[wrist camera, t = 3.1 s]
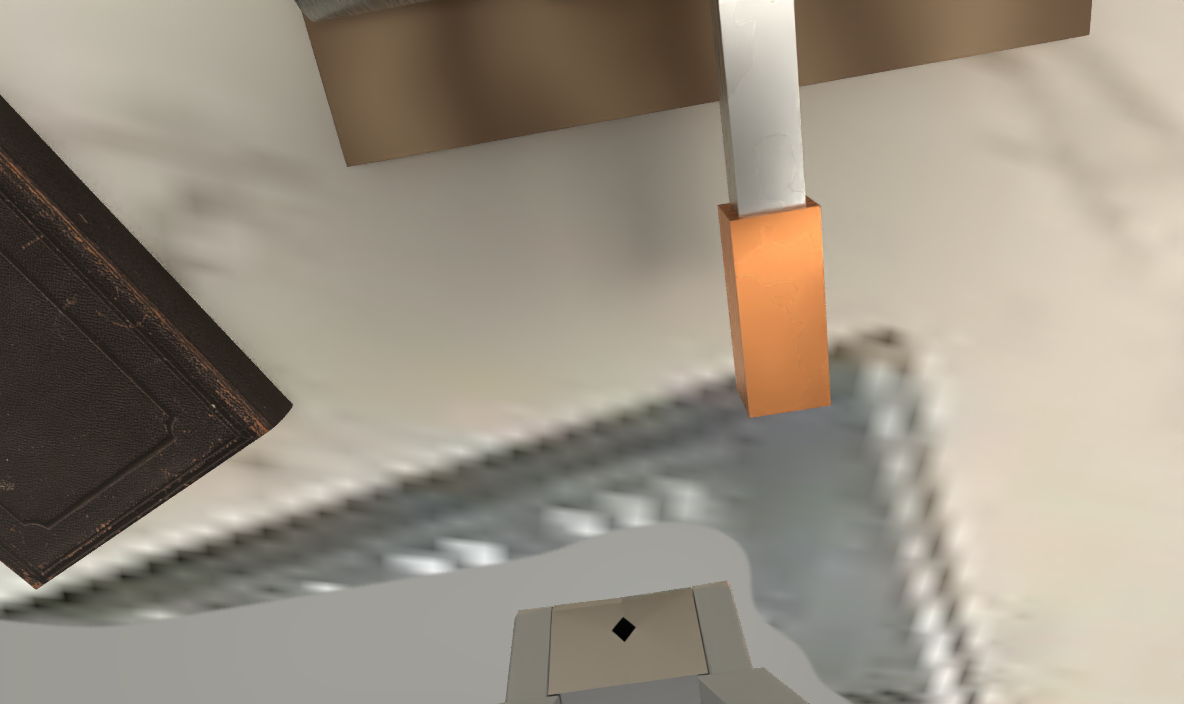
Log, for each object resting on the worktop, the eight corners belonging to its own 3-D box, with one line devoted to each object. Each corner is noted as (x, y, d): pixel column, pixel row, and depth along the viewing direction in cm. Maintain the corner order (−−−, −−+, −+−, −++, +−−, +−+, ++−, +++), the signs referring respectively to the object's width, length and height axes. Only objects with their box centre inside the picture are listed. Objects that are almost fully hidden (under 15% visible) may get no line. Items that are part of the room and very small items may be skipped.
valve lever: (654, -231, 18) (662, -260, 16) (789, -258, 18) (813, -291, 16) (724, 390, 25) (736, 419, 23) (824, 374, 24) (844, 403, 23)
